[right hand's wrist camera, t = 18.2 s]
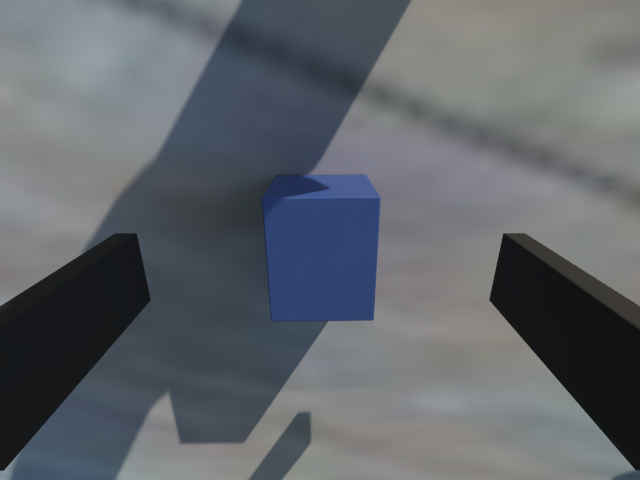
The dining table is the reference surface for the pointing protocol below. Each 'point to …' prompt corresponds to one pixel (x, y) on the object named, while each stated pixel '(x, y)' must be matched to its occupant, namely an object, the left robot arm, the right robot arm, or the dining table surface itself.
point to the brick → (321, 247)
